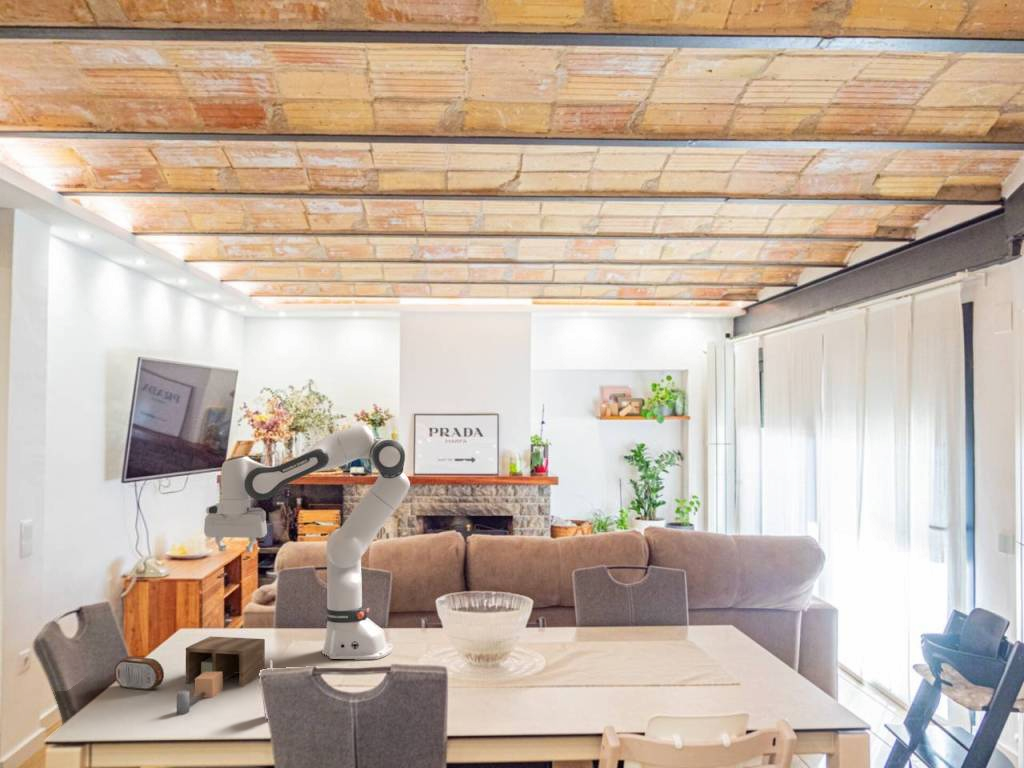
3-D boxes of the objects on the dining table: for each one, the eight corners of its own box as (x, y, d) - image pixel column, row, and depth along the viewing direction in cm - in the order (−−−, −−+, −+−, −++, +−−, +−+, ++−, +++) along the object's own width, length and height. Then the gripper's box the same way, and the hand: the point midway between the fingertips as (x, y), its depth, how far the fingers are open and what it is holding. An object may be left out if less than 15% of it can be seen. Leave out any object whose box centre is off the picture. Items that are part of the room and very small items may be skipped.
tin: (164, 688, 220) (164, 658, 221) (156, 692, 217) (156, 661, 218) (120, 684, 224) (120, 654, 225) (112, 688, 221) (112, 658, 222)
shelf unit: (264, 672, 232) (264, 639, 233) (242, 686, 221) (242, 650, 221) (210, 669, 236) (210, 636, 237) (185, 683, 224) (185, 647, 225)
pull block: (222, 689, 218) (222, 671, 219) (189, 714, 200) (189, 695, 200) (205, 689, 219) (205, 671, 219) (170, 714, 201) (170, 694, 201)
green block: (228, 673, 233) (228, 656, 233) (216, 680, 227) (216, 663, 227) (213, 672, 234) (213, 655, 234) (201, 679, 228) (201, 662, 228)
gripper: (270, 506, 247) (270, 550, 247) (213, 506, 251) (213, 549, 251) (260, 509, 241) (260, 554, 240) (201, 508, 245) (201, 552, 245)
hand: (235, 551), depth 246 cm, fingers open, 8 cm apart
